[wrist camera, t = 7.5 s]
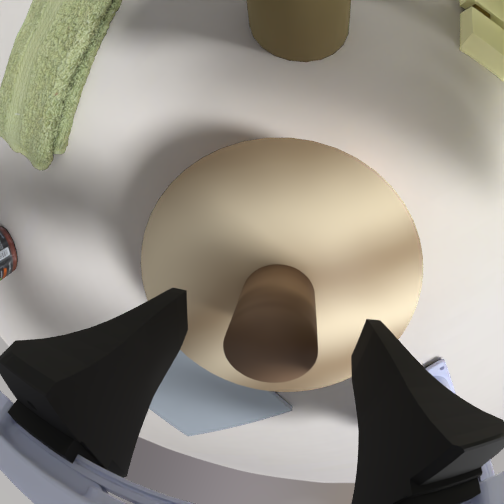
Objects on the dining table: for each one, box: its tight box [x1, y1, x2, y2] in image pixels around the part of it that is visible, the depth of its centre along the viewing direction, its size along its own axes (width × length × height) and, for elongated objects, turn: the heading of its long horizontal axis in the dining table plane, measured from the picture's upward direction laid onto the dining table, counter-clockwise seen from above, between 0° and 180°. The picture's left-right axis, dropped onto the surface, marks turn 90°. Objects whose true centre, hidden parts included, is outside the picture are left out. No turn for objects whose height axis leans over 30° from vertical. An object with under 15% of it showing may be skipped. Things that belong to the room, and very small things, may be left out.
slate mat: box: [149, 350, 292, 436], centre depth 25 cm, size 16×16×1 cm
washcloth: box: [0, 0, 122, 170], centre depth 13 cm, size 13×18×3 cm
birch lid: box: [141, 138, 423, 392], centre depth 12 cm, size 15×15×5 cm
